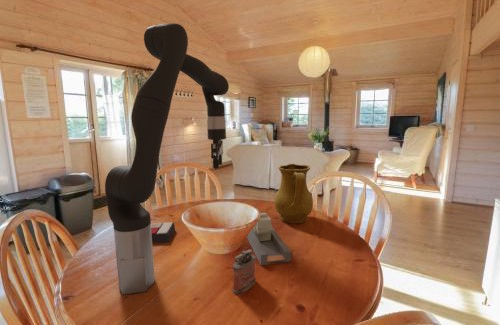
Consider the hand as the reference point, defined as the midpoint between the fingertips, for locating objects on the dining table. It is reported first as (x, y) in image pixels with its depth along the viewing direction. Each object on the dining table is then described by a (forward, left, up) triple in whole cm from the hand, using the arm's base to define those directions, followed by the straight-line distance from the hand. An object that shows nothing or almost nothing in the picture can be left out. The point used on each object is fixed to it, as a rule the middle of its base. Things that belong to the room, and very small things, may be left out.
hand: (217, 166), depth 114 cm
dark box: (-7, +27, -26) cm, 38 cm away
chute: (-23, -14, -25) cm, 37 cm away
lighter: (-46, -2, -26) cm, 53 cm away
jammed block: (-20, -14, -24) cm, 34 cm away
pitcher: (-3, -33, -26) cm, 42 cm away
